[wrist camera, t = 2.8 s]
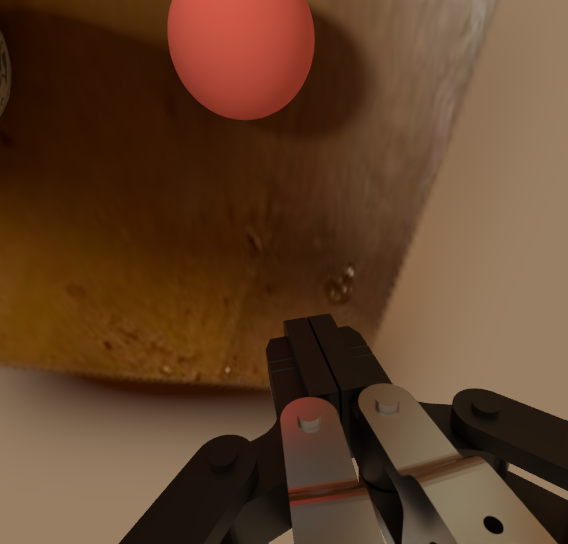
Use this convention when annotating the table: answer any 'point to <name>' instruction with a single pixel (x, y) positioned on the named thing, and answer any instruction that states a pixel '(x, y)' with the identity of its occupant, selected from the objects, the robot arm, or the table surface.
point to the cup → (4, 74)
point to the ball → (241, 53)
